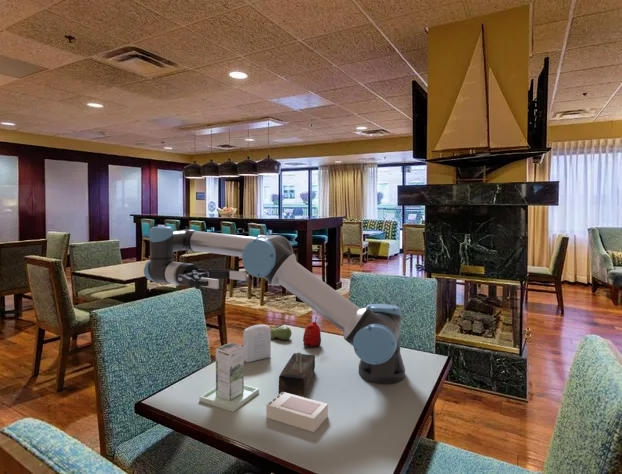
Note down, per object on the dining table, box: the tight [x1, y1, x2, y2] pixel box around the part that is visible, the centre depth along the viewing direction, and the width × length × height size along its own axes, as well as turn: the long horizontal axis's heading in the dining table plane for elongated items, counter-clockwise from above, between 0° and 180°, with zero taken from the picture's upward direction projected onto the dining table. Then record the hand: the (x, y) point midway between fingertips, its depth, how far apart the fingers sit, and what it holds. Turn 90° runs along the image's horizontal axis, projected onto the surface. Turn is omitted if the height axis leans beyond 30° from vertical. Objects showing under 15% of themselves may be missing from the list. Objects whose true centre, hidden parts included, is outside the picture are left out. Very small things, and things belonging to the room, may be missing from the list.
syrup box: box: [215, 342, 245, 401], centre depth 112 cm, size 6×6×14 cm
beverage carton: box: [277, 352, 316, 398], centre depth 122 cm, size 8×19×7 cm, turn 169°
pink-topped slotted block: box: [265, 392, 329, 433], centre depth 102 cm, size 14×8×4 cm, turn 62°
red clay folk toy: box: [302, 312, 322, 348], centre depth 153 cm, size 8×7×15 cm
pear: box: [271, 326, 293, 341], centre depth 161 cm, size 6×5×10 cm
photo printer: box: [242, 323, 272, 363], centre depth 140 cm, size 10×4×12 cm, turn 123°
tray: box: [198, 384, 260, 413], centre depth 113 cm, size 12×12×1 cm
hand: (232, 280), depth 121 cm, fingers open, 13 cm apart
